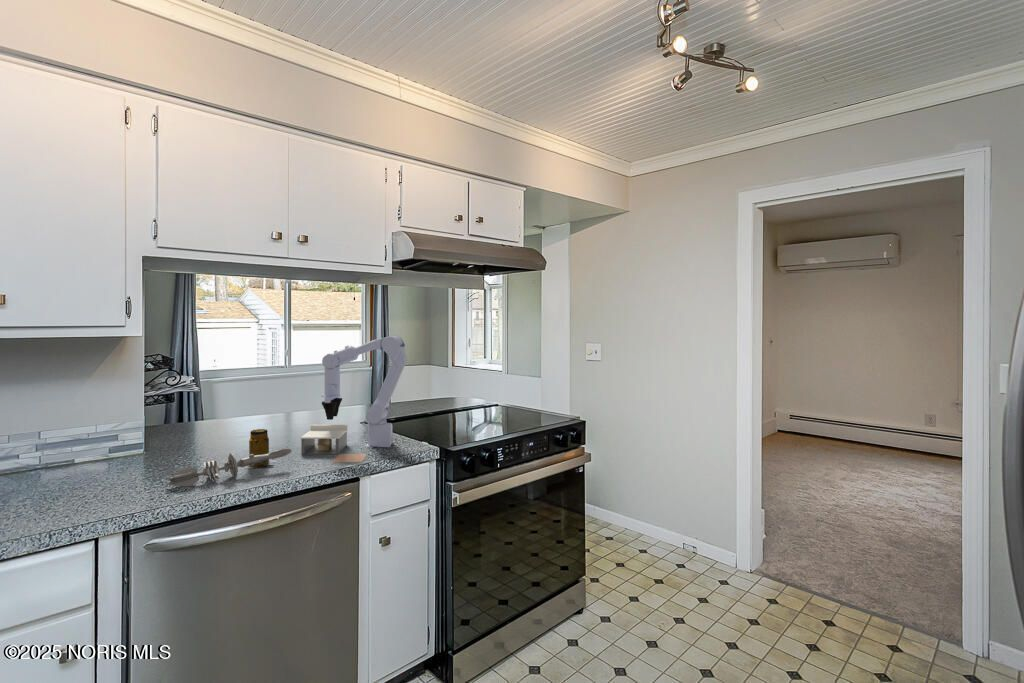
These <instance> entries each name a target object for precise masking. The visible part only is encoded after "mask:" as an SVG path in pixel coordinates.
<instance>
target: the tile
mask: <svg viewBox="0 0 1024 683" xmlns="http://www.w3.org/2000/svg"><path fill="white" fill-rule="evenodd" d="M367 456H368V454H367V453H352V454H351V453H344V454H343V453H342V454H341V453H339V454H337V456H336V457H335V458H334V459H333V460H332V463H362V462H363V461H364V459H365V458H366V457H367Z"/></svg>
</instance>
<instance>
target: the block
mask: <svg viewBox="0 0 1024 683" xmlns="http://www.w3.org/2000/svg"><path fill="white" fill-rule="evenodd" d="M332 441H333V439H317V445H318V451H329V450H330V449H331V448H332V445H333V442H332Z"/></svg>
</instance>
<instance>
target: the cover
mask: <svg viewBox="0 0 1024 683" xmlns="http://www.w3.org/2000/svg"><path fill="white" fill-rule="evenodd" d="M346 432H347V433H348V424H310V430H308V432H306V433H305V434H303V435H302V436H301V437H300V440H301V439H315V440H316V439H317V440H318V439H332V440H333V439H334V440H336V439H339V438H340V437H341V436H342V435H343V434H344V433H346Z"/></svg>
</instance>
